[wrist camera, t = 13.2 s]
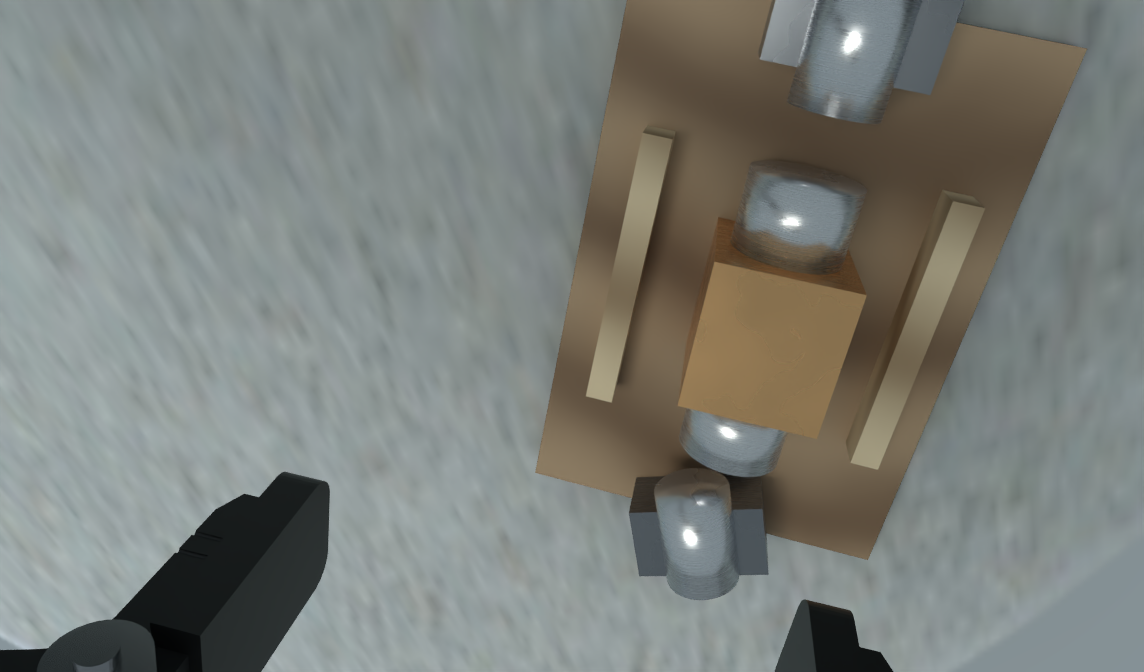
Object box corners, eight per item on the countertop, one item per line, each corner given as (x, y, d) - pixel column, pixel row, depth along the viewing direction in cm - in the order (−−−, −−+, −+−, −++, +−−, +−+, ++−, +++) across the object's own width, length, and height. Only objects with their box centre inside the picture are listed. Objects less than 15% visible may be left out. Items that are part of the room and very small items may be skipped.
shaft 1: (635, 443, 34) (620, 512, 30) (758, 437, 33) (761, 508, 29) (648, 523, 36) (635, 600, 31) (765, 519, 35) (769, 599, 30)
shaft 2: (783, -48, 26) (792, -53, 22) (941, -17, 26) (983, -16, 21) (749, 80, 28) (751, 100, 23) (897, 111, 27) (927, 137, 23)
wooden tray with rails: (638, -42, 27) (629, -43, 25) (1074, 46, 26) (1107, 52, 23) (540, 460, 35) (527, 492, 33) (864, 544, 34) (873, 584, 32)
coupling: (735, 146, 28) (735, 179, 23) (869, 174, 27) (895, 213, 23) (671, 400, 32) (661, 469, 27) (786, 427, 32) (794, 502, 27)
